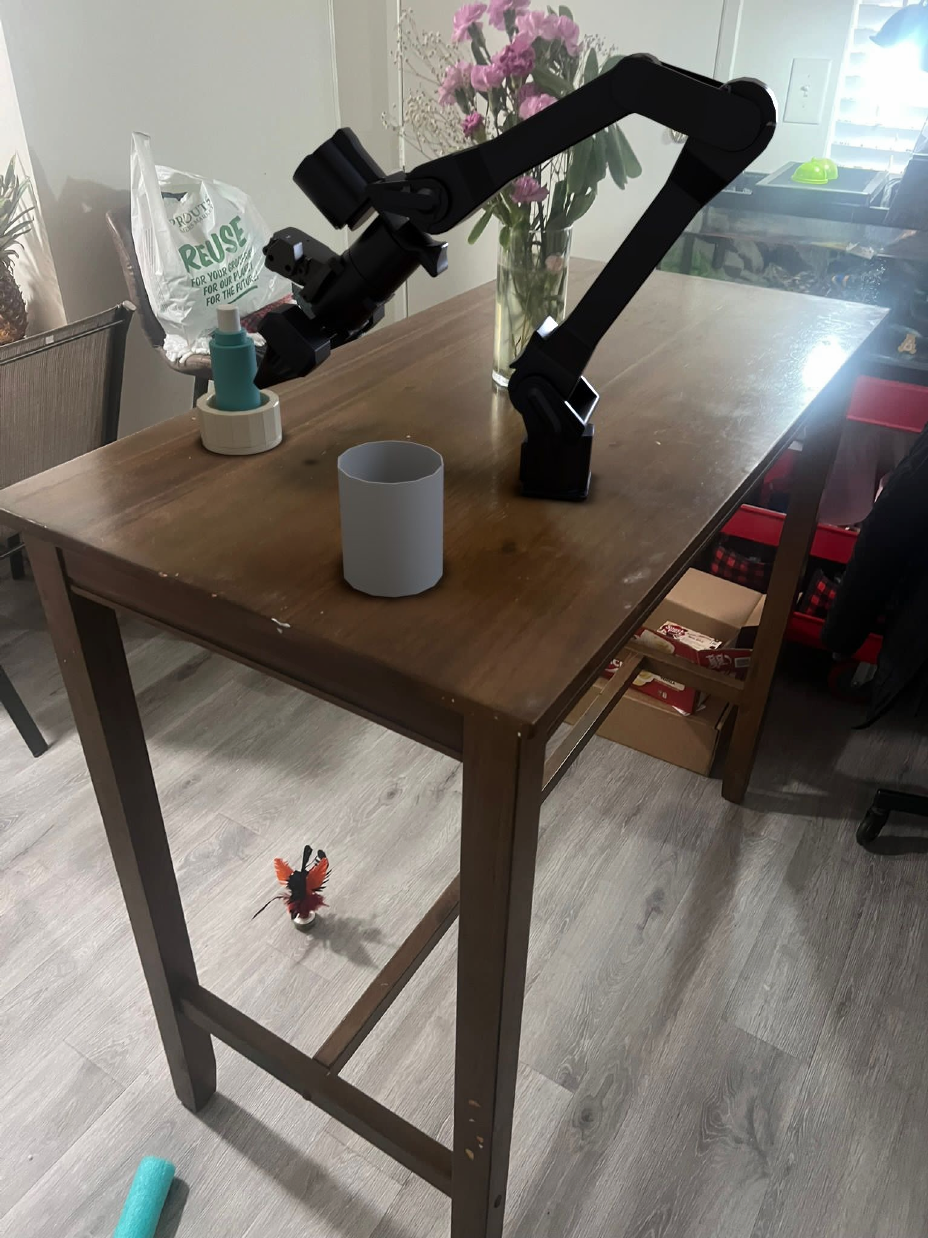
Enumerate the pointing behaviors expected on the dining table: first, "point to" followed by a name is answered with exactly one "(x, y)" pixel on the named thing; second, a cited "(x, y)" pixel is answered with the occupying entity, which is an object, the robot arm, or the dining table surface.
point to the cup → (391, 517)
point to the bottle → (233, 363)
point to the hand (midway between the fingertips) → (277, 371)
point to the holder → (240, 426)
